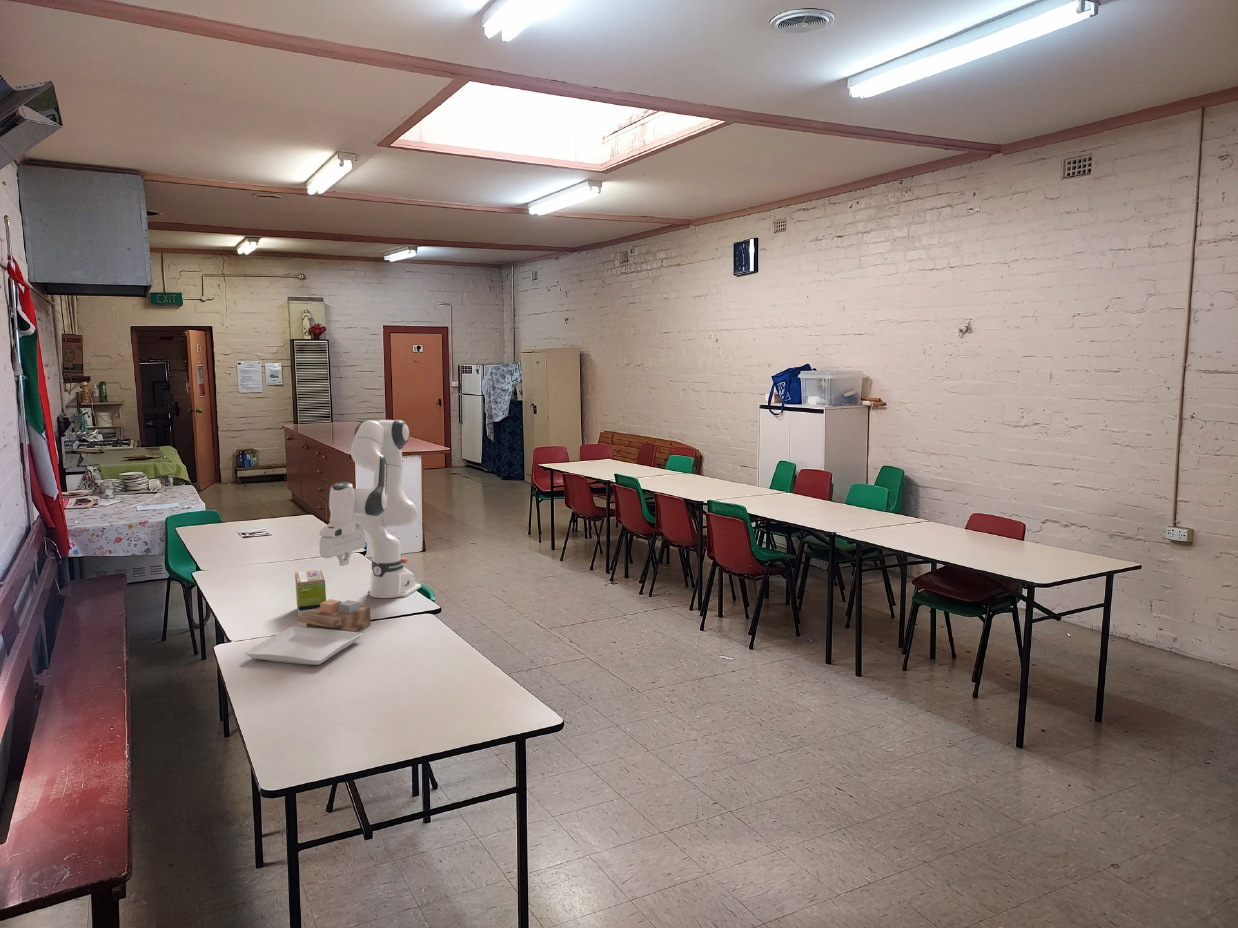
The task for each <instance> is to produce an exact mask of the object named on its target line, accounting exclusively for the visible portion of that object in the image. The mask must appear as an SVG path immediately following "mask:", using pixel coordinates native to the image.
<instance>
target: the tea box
mask: <svg viewBox="0 0 1238 928" xmlns="http://www.w3.org/2000/svg"><path fill="white" fill-rule="evenodd" d="M323 574H324V573H323V572H322V569H316V570H308V571H307V570H306V571H299V572H298V571H297V572H295V573H294V577H295V578H294V579H295V581H294V582H295V593H296V594H295V595H296V609H297V614H298V615H301V614H303V613H306V612H308V611H311V610H314V609H316V608H319V607H320V603H321V602H324V601H327V598H326V597H327V594H326V593H327V592H326V590H327V589H326V579H325V577H324V575H323ZM298 615H297V616H298Z"/></svg>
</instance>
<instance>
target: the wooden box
mask: <svg viewBox="0 0 1238 928" xmlns="http://www.w3.org/2000/svg"><path fill="white" fill-rule="evenodd" d="M342 602H343V601H341V603H342ZM296 619H297V620H296V621H297V622H299V623H305V627H307V628H322V629H332V630H340V631H348V632H357V633H358V632H359V631H361V630H363V629H365V628H368V627H371V606H366V605H361V604H359V610H358V611H356V612H353V613H351V614H347V613H341V612H339V610H338V611H335V612H333V613H328V612H322V611H320V607H319V608H316V609H314V610H311V611H308V612H306V613H303V614H301V615H296Z"/></svg>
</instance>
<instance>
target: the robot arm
mask: <svg viewBox="0 0 1238 928" xmlns="http://www.w3.org/2000/svg"><path fill="white" fill-rule="evenodd" d="M353 438H354V439H353V441H352V444H351V448H350V456H351V459H352V461H353V462H355V464H357V465H358V466H359V467H361V468H362V469H366V470H368V471H371V472H373V487H371V488H354V487H353V484H352V483H351V482H346V481H342V482H337V483H334V484H332V485H331V487H330V489H329V497H328V498H329V501H328V507H329V511H330V516H329V523H328V524H326V526H324V527H323V528H321V529H320V530H319V532H318V533H319V536H320V539H319V543H318V544H319V546H318V547H319V555H320V557H321V558H323V559H331V558H334V557H335V558H337V560H338V563H339V566H340V567H341V566H342V567H343V566H347V565H349V563H350V562H349V560H350V557H351V555H352V552H354V551H357V550H360V549H364V548H365V547H366V545H367V541H366V535H367V536H368V539H369V541H370V544H371V551H372V553H371V554H372V560H371V570H372V571H371V573H370V586H369V588H368V592H369V597H372V598H375V599H377V598H378V599H392V598H400V597H401V598H405V597H407V596H409V595H411V594H412V593H414V592H416V591H417V590H419V589H420V588H422V584H421V583H419V582H416V579H415V577H416V576H415V575H414V573H413V572H411V571H410V570H409V569H407V568H406V567H405V565H404V564H407V563H408V558H404V557H402V558H401V542H400V539H398V538H397V536H394V535H392V534H391V533H389V532H388V531H387V530H386V528H405V527H406V528H407V527H410V526H414V524H415V523H416V522H417V521H418V515H419V513H418V511H419V510H418V508H417V506H416V504H415V503H414V502H412V501H411V500H410V499H409V498H408V497H407V495H406V494H405V491H404V489H403V454H402V453H403V452H402V449H403V448H404V446H405V445H406V444H407V443H408V441H409V439H410V428H409V425H408V424H407V423H406V421H404V420H401V419H395V420H392V419H380V420H371V419H369V420H365V421H364V422H360V423H359V424H357V425H356V427H355V429H354V437H353Z"/></svg>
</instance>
